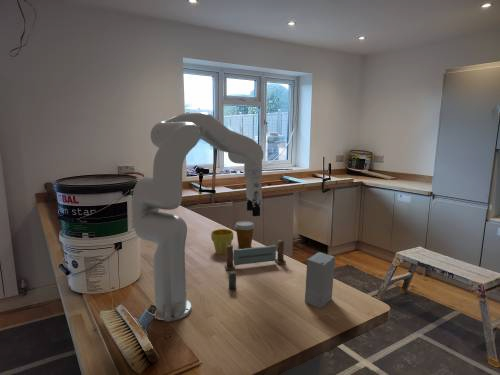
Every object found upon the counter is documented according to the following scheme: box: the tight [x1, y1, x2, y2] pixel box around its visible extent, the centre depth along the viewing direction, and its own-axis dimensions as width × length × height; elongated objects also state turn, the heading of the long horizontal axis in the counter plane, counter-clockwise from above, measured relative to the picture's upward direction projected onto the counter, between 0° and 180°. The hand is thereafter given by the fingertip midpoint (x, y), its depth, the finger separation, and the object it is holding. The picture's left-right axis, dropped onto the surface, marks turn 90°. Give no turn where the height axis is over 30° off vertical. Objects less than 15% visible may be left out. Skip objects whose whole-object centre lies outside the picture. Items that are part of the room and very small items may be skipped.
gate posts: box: [224, 239, 287, 291], centre depth 129 cm, size 28×20×10 cm
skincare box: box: [304, 251, 336, 309], centre depth 108 cm, size 8×7×16 cm
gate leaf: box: [233, 244, 277, 266], centre depth 137 cm, size 18×2×7 cm, turn 106°
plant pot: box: [210, 228, 234, 255], centre depth 154 cm, size 10×10×10 cm
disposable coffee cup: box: [234, 220, 255, 249], centre depth 160 cm, size 10×10×12 cm
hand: (253, 213), depth 141 cm, fingers open, 9 cm apart
